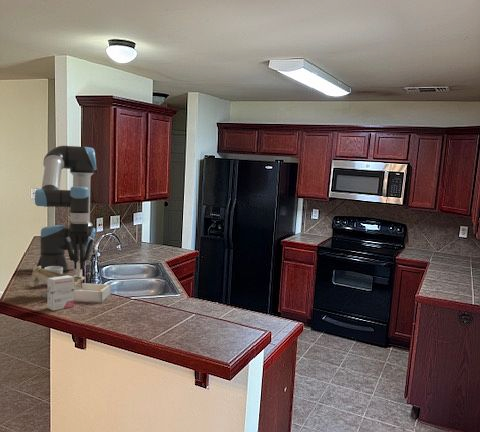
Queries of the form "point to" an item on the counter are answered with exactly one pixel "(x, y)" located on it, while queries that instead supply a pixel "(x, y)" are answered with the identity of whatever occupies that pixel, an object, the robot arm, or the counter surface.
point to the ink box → (60, 292)
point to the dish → (92, 293)
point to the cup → (54, 270)
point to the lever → (49, 276)
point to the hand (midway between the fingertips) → (79, 276)
